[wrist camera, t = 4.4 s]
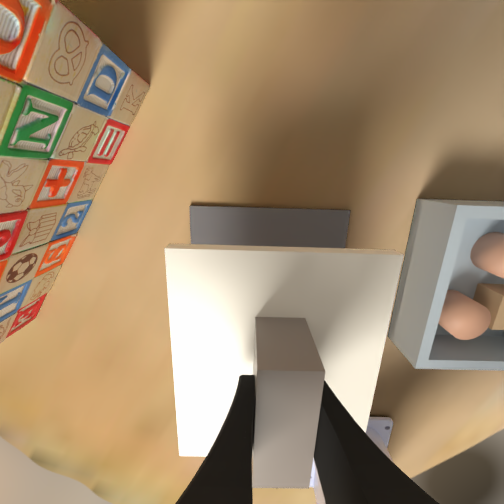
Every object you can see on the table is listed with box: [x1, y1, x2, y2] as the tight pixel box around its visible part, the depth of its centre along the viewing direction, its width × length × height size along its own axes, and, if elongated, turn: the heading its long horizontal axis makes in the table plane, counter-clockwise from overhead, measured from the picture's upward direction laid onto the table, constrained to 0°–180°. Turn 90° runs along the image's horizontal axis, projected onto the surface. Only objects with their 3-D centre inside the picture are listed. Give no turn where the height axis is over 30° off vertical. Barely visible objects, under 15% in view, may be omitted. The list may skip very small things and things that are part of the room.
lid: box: [165, 243, 404, 488], centre depth 12 cm, size 13×11×5 cm
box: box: [388, 199, 504, 370], centre depth 20 cm, size 12×10×4 cm
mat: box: [190, 205, 350, 248], centre depth 22 cm, size 14×12×1 cm
